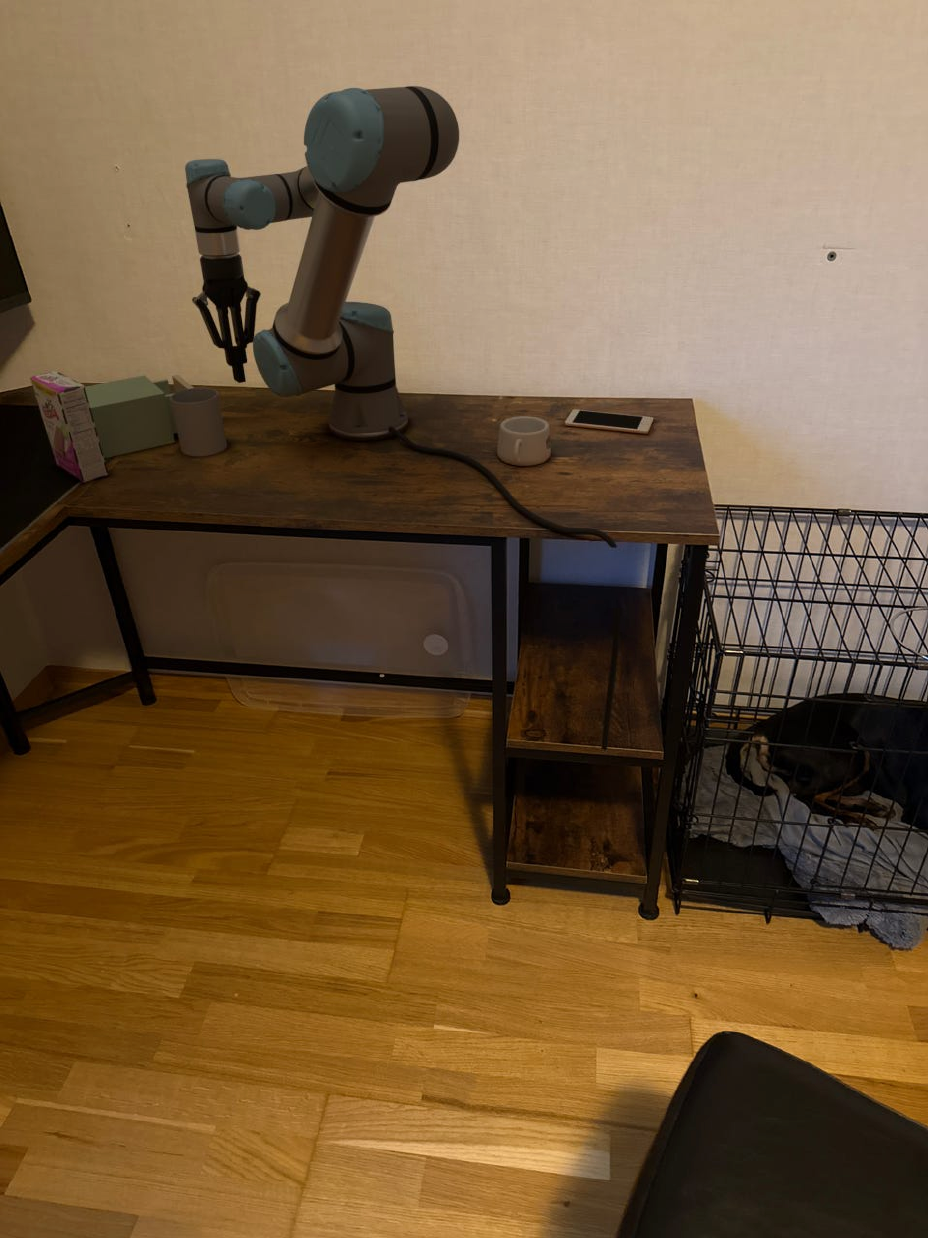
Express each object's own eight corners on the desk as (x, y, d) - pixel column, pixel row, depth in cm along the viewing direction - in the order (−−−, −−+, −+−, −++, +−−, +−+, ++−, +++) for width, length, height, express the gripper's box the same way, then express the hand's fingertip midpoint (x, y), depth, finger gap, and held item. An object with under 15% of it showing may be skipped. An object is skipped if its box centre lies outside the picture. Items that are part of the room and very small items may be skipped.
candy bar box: (54, 466, 155) (27, 376, 146) (81, 458, 158) (56, 369, 149) (82, 484, 148) (56, 391, 139) (110, 475, 151) (85, 383, 142)
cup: (214, 457, 157) (204, 404, 151) (173, 454, 158) (161, 401, 153) (234, 440, 164) (225, 388, 158) (194, 437, 165) (184, 386, 160)
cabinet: (155, 422, 172) (144, 375, 167) (175, 442, 163) (164, 392, 158) (79, 438, 166) (66, 390, 160) (96, 460, 157) (82, 409, 151)
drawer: (207, 408, 176) (200, 370, 172) (227, 424, 168) (220, 385, 164) (117, 427, 168) (108, 387, 164) (134, 445, 160) (124, 404, 156)
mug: (503, 443, 160) (504, 412, 157) (555, 448, 158) (556, 417, 154) (487, 469, 150) (487, 437, 147) (542, 475, 148) (543, 442, 145)
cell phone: (647, 434, 162) (647, 431, 162) (564, 425, 167) (564, 422, 167) (653, 420, 169) (653, 417, 168) (573, 411, 173) (573, 408, 173)
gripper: (246, 246, 164) (263, 369, 177) (178, 255, 158) (201, 381, 171) (261, 253, 159) (277, 379, 172) (192, 262, 153) (215, 392, 166)
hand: (239, 380), depth 172 cm, fingers closed
